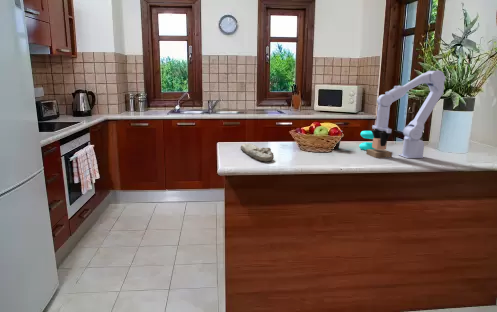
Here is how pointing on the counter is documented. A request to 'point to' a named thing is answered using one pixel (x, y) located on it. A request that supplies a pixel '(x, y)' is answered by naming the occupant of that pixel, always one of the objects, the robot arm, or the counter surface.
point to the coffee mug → (337, 145)
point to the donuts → (369, 136)
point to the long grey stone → (258, 152)
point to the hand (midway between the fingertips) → (379, 144)
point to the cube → (378, 144)
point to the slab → (379, 153)
